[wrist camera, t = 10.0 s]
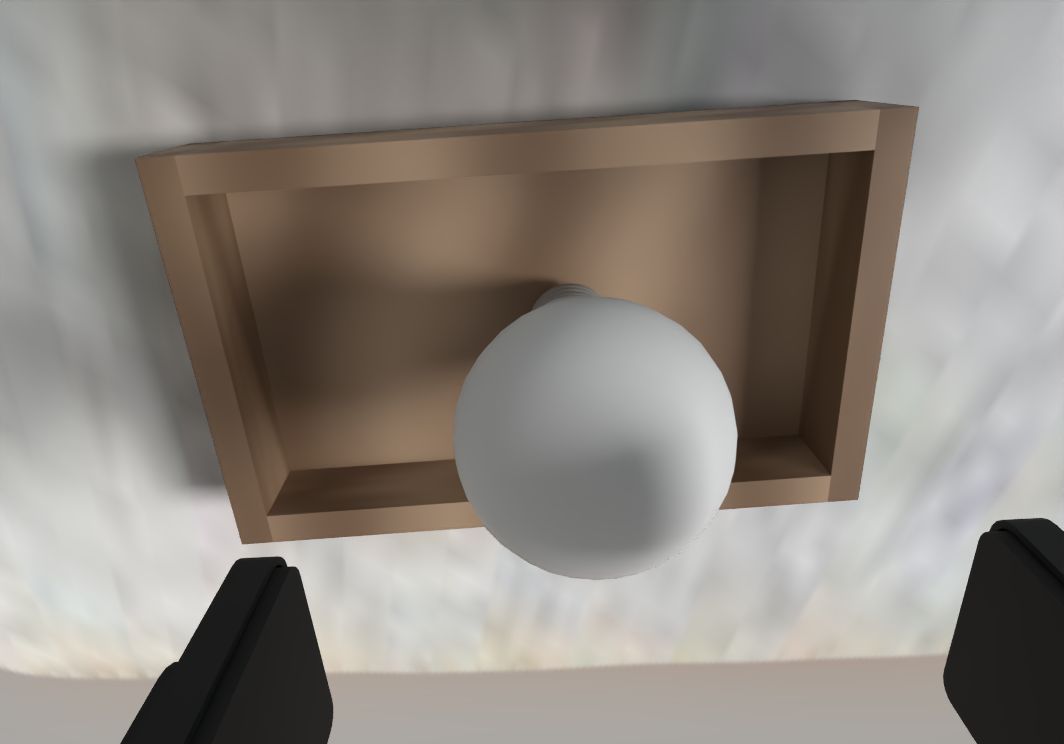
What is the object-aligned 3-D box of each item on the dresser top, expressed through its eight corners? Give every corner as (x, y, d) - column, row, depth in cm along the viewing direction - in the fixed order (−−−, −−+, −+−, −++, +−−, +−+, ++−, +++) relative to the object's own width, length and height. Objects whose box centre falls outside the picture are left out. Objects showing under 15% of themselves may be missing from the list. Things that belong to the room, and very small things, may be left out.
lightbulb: (699, 316, 23) (846, 524, 13) (560, 429, 24) (593, 692, 14) (575, 175, 21) (633, 291, 11) (433, 309, 22) (369, 517, 12)
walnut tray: (855, 100, 21) (918, 106, 18) (814, 445, 26) (857, 499, 23) (190, 143, 21) (134, 158, 18) (274, 484, 26) (241, 544, 23)
